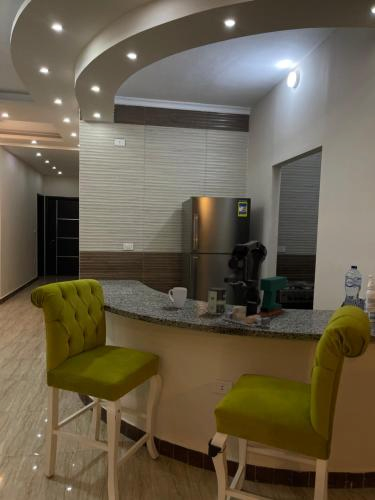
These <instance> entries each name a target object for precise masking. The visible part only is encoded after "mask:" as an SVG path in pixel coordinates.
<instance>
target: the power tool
mask: <svg viewBox="0 0 375 500" xmlns="http://www.w3.org/2000/svg"><path fill="white" fill-rule="evenodd" d="M288 281H289V280H288V277H287V276H278V275H276V276H270V277H266V278H265V277H263V278H260V282H259V283H260V285H259V286H260V287H259V290H260V291H263V294H262V300H261V304H260V307H259V311H258V314H259V315H264V316H271V315H273V314H274V315H275V314H278V313H280V312H283V311H282V310H284V308H283V307H282V305H283V304H282V303H281V304H280V303H277V302H276V298H277V296H279V291H280V290H283V289H287V285H288Z"/></svg>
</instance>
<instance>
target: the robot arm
mask: <svg viewBox="0 0 375 500" xmlns="http://www.w3.org/2000/svg"><path fill="white" fill-rule="evenodd" d="M250 254H251V258H252V267H251V271H250V277H249V279H248V278H247V273H248V272H249V270H247V267H248V260H249V255H250ZM267 256H268V250H267V248H266V246H265V245H263V244H262V243H261V241H260V240H250V241H248V242H247V243H244V244H243V243H242V244H241V243H239V244H238V243H237V244H235V246H234V248H233V250H232V253H231V258H230V259H229V260H228V262H227V266H228V268H229V269H230V270H233V272H232V273H231V274H229V275H228V276H225V277H224V278H223V283H226V284H229V286H231V288H232V290H233V293H234V296H235V298H238V297H239V290H240V287H241V289H242V290H241V298H242V299H243V304H246V305H245V307H246V315H247V316H253V315H259V316H260V314H259V312H258V306H261V304H262V300H261V297H260V292H259V289H258V286H259V280H260V273H261V268H262V264H263V263H264V261H265V260H266V258H267ZM240 284H242V285H240Z"/></svg>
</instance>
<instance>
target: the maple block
mask: <svg viewBox="0 0 375 500" xmlns="http://www.w3.org/2000/svg"><path fill="white" fill-rule="evenodd" d="M232 312H233V317H232V319H236V320H241V319H245V317H247V316H246V306H243V305H237V306H233V307H232Z"/></svg>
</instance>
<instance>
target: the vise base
mask: <svg viewBox="0 0 375 500" xmlns="http://www.w3.org/2000/svg"><path fill="white" fill-rule="evenodd" d="M224 315H225V316H222V320H225V321H228V322H233V323H236V324H239V325H240V324H241V325H244V326H247V325H248V327H252V328H255V327H259V326H262V325H261V323H258V322H253V323H247V322H245V319H241V320H236V319H232V317H233V311H229V312H225V314H224Z"/></svg>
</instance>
